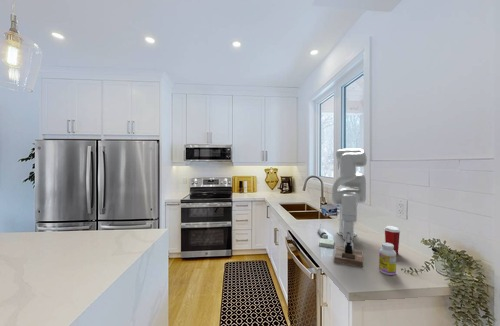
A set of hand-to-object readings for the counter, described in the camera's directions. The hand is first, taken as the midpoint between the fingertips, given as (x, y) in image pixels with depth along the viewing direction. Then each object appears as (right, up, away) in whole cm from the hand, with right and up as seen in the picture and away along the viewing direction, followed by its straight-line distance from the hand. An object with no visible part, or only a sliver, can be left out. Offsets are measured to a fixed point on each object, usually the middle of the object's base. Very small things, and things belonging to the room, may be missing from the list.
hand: (348, 251), depth 118 cm
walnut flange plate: (-1, -3, -2) cm, 4 cm away
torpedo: (-3, -3, +34) cm, 34 cm away
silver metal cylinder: (0, 0, 0) cm, 0 cm away
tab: (-6, -3, +17) cm, 18 cm away
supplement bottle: (+11, -3, -16) cm, 20 cm away
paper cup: (+26, -3, +5) cm, 27 cm away
